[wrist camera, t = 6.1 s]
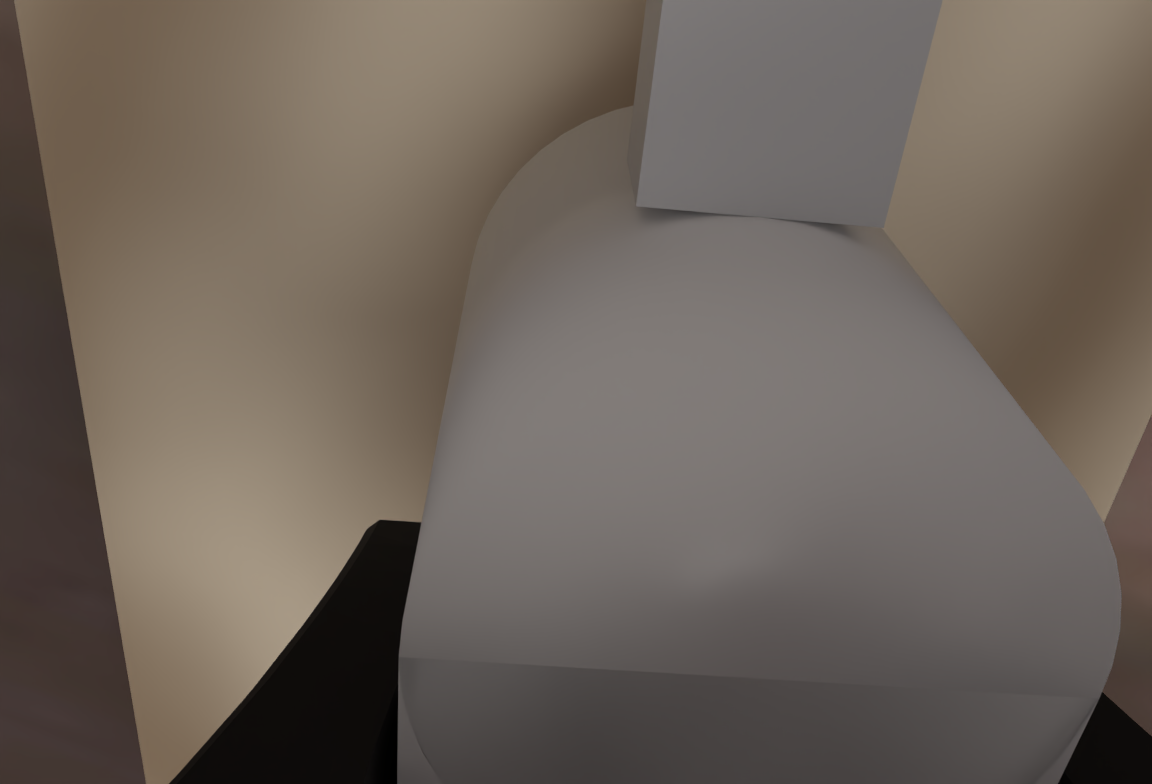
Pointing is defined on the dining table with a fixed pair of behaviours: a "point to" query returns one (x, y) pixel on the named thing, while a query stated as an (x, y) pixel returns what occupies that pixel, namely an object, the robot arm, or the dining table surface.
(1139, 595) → the dining table surface
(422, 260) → the birch board
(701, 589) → the usb plug
